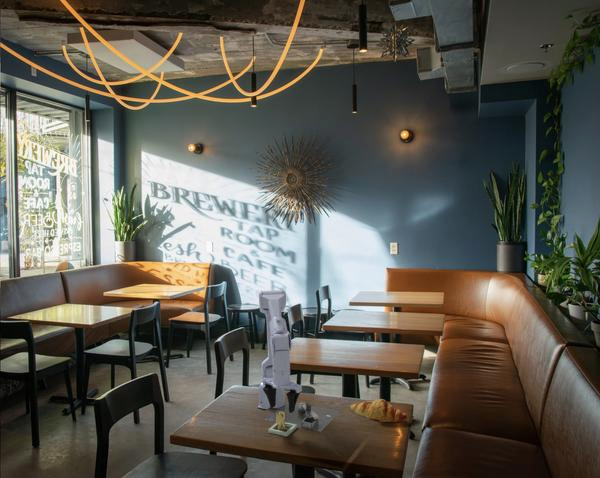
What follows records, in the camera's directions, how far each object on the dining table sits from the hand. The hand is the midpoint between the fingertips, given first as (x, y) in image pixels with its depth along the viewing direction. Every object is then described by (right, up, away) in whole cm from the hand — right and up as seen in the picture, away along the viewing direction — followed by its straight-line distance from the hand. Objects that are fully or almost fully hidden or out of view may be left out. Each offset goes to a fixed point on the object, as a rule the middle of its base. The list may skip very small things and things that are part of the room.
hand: (282, 409), depth 165 cm
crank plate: (+7, -7, +12) cm, 15 cm away
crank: (+9, -6, +10) cm, 15 cm away
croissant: (+34, -7, +11) cm, 36 cm away
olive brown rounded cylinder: (-1, -7, +1) cm, 8 cm away
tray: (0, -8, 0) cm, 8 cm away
